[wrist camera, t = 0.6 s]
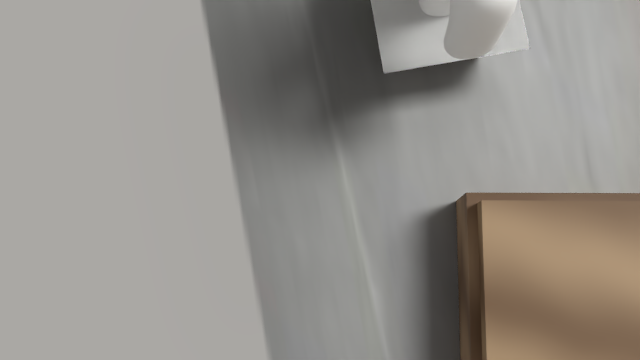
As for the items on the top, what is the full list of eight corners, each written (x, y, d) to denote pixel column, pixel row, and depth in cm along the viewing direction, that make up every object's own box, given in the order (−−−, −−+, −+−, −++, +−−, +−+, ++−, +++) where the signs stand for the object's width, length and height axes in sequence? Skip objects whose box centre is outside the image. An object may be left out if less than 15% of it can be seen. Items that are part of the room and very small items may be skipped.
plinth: (456, 200, 31) (470, 189, 27) (690, 202, 30) (740, 190, 26) (462, 439, 29) (478, 465, 25) (714, 448, 28) (772, 476, 24)
